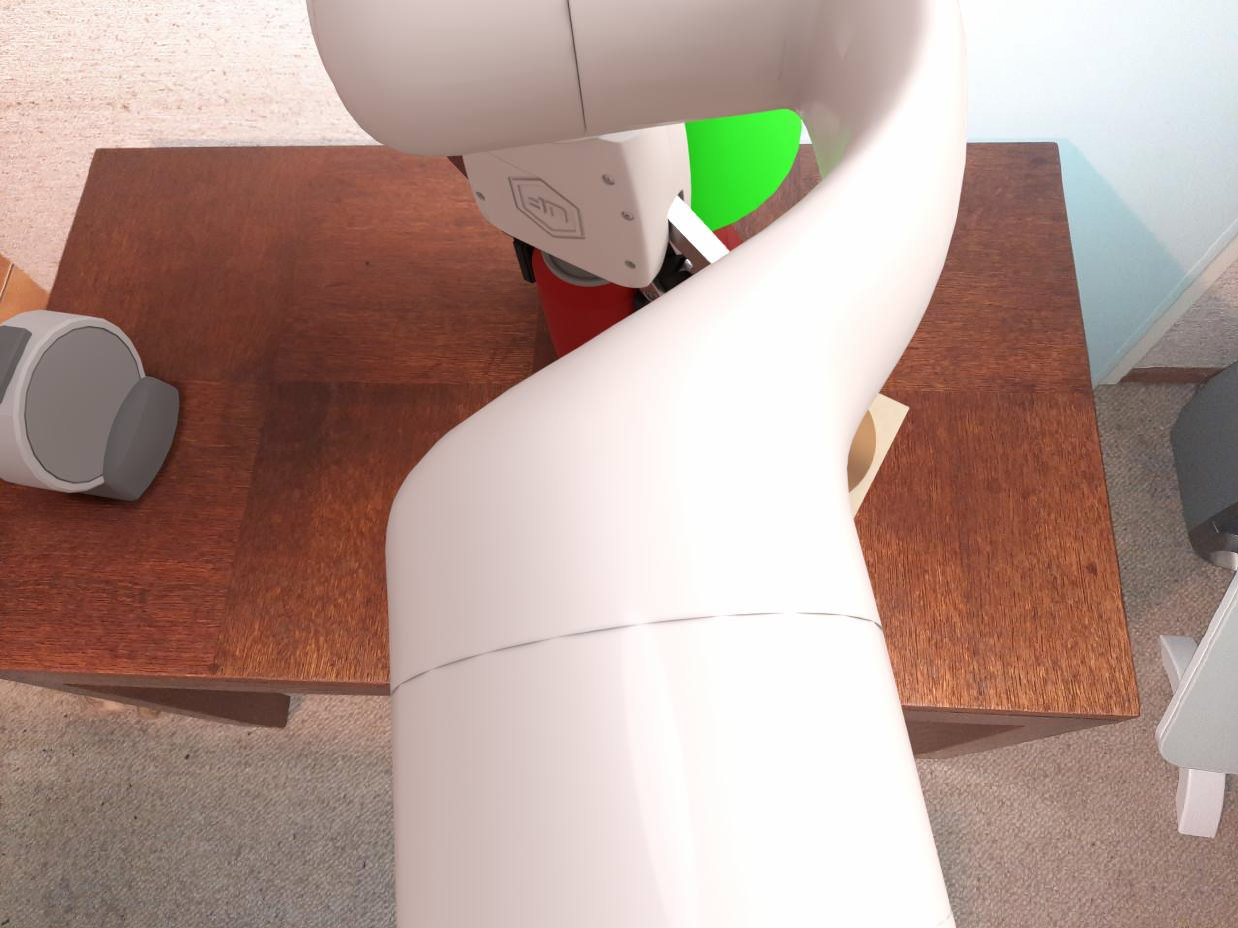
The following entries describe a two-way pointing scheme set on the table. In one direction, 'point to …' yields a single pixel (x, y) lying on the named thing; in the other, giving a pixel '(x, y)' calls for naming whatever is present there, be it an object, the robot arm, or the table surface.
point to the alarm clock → (80, 407)
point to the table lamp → (739, 165)
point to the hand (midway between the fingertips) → (598, 288)
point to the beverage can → (577, 301)
